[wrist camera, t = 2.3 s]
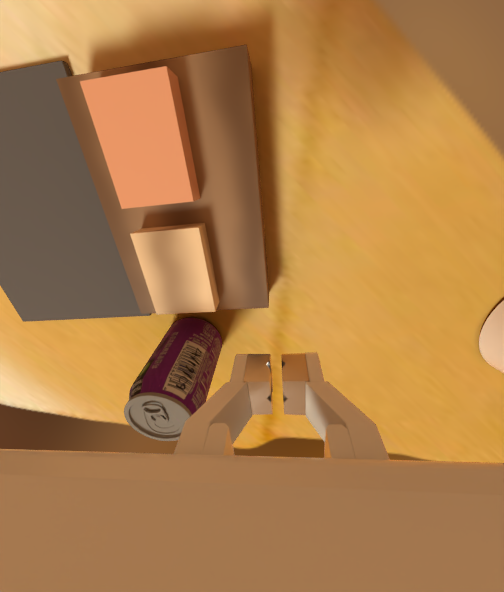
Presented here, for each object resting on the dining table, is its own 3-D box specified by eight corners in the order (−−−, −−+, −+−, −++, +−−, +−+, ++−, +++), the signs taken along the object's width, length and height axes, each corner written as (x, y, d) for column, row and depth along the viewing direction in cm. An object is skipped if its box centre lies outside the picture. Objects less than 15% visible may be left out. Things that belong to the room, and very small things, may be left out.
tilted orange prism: (177, 76, 17) (166, 66, 15) (200, 198, 21) (193, 201, 19) (99, 90, 18) (79, 81, 16) (134, 205, 21) (121, 208, 20)
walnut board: (251, 64, 19) (246, 44, 16) (269, 292, 28) (268, 307, 25) (88, 92, 21) (55, 79, 18) (155, 298, 30) (141, 313, 27)
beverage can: (161, 319, 31) (103, 396, 21) (213, 309, 30) (179, 386, 19) (182, 360, 34) (141, 446, 24) (230, 353, 33) (208, 441, 22)
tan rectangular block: (204, 222, 22) (198, 227, 20) (219, 301, 25) (215, 311, 23) (141, 228, 22) (130, 233, 20) (164, 304, 26) (156, 314, 24)
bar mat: (67, 63, 20) (61, 60, 19) (152, 312, 31) (149, 315, 30) (-111, 96, 22) (-121, 95, 22) (27, 319, 33) (23, 321, 32)
